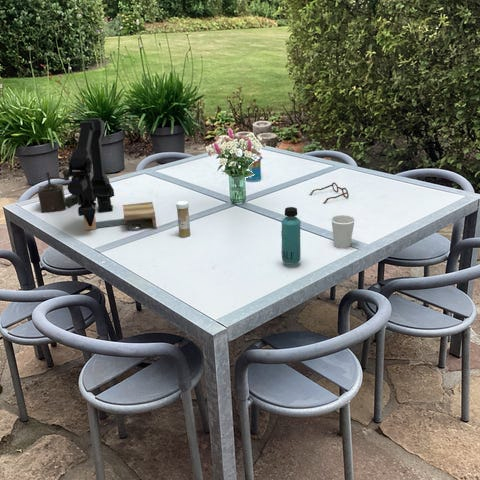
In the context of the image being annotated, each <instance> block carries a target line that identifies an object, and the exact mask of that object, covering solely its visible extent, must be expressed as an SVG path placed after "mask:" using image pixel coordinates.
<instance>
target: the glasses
mask: <svg viewBox="0 0 480 480" xmlns="http://www.w3.org/2000/svg"><path fill="white" fill-rule="evenodd" d="M334 185H335V186H336V189H335V187H334ZM330 187H332V191H334V193H339V190H341V194H339V195H336V196H330V197H328V198H326V199H325V200H324V201H323V202H322V204H323V205H324V204H326V203H327V202H328V200H331V199H337V198H339V197H342V196H343V197H344V198H346V199H348V198H349V196H350V195H349V191H348V189H347V188H346V187H341V186H338V184H337V183H336V182H332V183H331V184H329V185H327V186H325V187H321V188H316V189H313V190H312V191H311V192H310V193H309V196H312V195H313V194H314V192H316V191H323V190H325V189H328V188H330ZM344 191H345V192H344Z"/></svg>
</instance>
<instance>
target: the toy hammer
mask: <svg viewBox="0 0 480 480" xmlns="http://www.w3.org/2000/svg"><path fill="white" fill-rule="evenodd" d="M83 221H84V227H85V231H90V230H97V228H104V227H111V226H120V225H127V222H126V220H124V218H117V219H109V220H102V221H101V220H99V221H97V220H96V214H95V215H94V219H93V223H92V226H89V225H88V223H87V220H86V218H85V216H84V215H83Z"/></svg>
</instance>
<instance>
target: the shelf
mask: <svg viewBox="0 0 480 480" xmlns="http://www.w3.org/2000/svg"><path fill="white" fill-rule="evenodd" d="M122 209H123V210H122V211H123V212H122V213H123V219H124V220H126V223H127V222H137V221H145V220H146V221H147V220H151V224H152V227H153V230H157V229H158V227H157V220H156V212H155V208H154V203H153V201H149V202H147V201H146V202H138V203H130V204H122Z"/></svg>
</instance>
